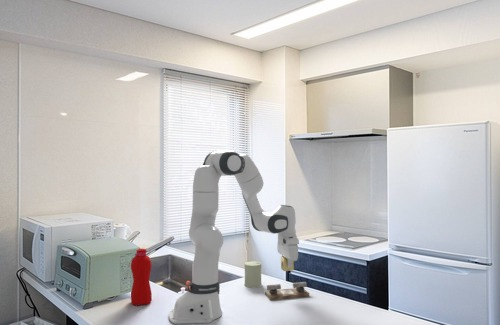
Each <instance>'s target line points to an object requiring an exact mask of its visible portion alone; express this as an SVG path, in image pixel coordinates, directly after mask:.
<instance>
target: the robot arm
mask: <svg viewBox="0 0 500 325" xmlns="http://www.w3.org/2000/svg"><path fill="white" fill-rule="evenodd" d="M223 176H224V177H225V176H228V177H229V176H234V178H235V180H236V181H237V183H238V185H239V187H240V191H241V194H242V199H243V201H244V203H245V205H246V208H247V210H248V212H249V215H250V222H251V225H252V227H253V229H254V230H256V231H258V232H263V233H264V232H265V233H268V234H269V233H270V234H277V249H276V250H277V253H278V254H280V255H281V257H282V256H284V257H285V258H287V261H288V263H287V267H288V268H291V264H292V261H294V262H297V261H298V259H299V244H300V240H299V238H298V237H297V234H296V233H297V232H296V221H297V220H296V212H295V208H294V207H293V206H291V205H286V204H279V205H278V207H277V208H276V209H274V210H273V211H271V212H269V211H265V210H264V209H263V208H262V207H261V204H260V201H259V198H258V196H257V195H258V194H259V193H260V192H261V190H262V189H263V187H264V180H263V179H264V178H263V177H262V175H261V173H260V170H259V168H258V167H257V165H256V164H255V162H254V161H253V160H252V158H251V157H250V156H249V155H248V154H243V153H242V154H239V153H238V152H236V151H233V150H222V149H221V150H217V151H214V150H213V151H212V152H209V153H208V154H207V155H206V156H205V158H204V161H203V163H202V165H201V166H199V167H197V168H195V171H194V176H193V182H192V212H191V217H190V224H189V230H188V235H189V240H190V241H191V243H192V244H193V245H194V246H195V247H194V248H195V249H194V250H195V251H194V256H193V257H194V258H193V261H192V269H191V270H192V273H191V274H192V275H191V277H192V279H191V280H192V281H190V280H187V281H186V282H185V286H186V287H187V290H186V292H185V293H183V294H182V295H181V296H179V297H178V298H177V299H176V301H175V304H174V308H173V309H171V310H170V311H169V313H168V319H169V321H170V322H171V324H172V323H173V324H175V325H176V324H177V325H178V324H183V325H185V324H209V323H212V322H213V321H214V320H216V319H219V318H220V317H221V316H222V314H223V311H222V307H221V303H220V291H221V290H220V289H221V288H220V284H221V283H220V281H219V261H220V255H221V248H222V246H223V244H224V236H223V233H222V232H221V231H220V229H219V228H218V227H216V226H215V225H216V218H217V213H218V211H219V191H220V190H219V184H220V183H219V181H220V180H221V177H223Z"/></svg>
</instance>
